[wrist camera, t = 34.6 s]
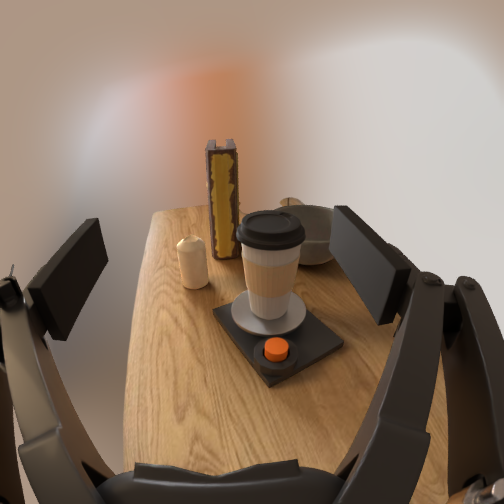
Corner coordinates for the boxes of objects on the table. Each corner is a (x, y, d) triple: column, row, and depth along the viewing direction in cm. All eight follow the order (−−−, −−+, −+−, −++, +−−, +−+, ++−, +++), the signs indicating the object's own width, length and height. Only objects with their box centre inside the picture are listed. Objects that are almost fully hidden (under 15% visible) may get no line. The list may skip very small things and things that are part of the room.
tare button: (260, 351, 38) (260, 342, 37) (279, 342, 39) (279, 334, 39) (272, 366, 36) (273, 357, 35) (292, 356, 37) (293, 348, 36)
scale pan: (219, 302, 47) (218, 299, 47) (278, 281, 52) (278, 278, 52) (256, 348, 38) (256, 345, 38) (320, 317, 43) (321, 315, 43)
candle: (187, 273, 60) (181, 231, 55) (211, 275, 60) (207, 232, 55) (178, 288, 55) (171, 244, 51) (204, 290, 55) (199, 245, 50)
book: (244, 258, 66) (242, 148, 54) (207, 260, 65) (199, 150, 53) (238, 221, 85) (236, 137, 73) (209, 222, 84) (205, 139, 72)
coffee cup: (303, 296, 47) (312, 213, 40) (289, 334, 40) (298, 241, 32) (251, 285, 50) (250, 205, 43) (229, 319, 42) (223, 229, 35)
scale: (212, 314, 49) (211, 301, 47) (278, 290, 55) (279, 277, 54) (268, 388, 35) (269, 376, 34) (342, 346, 41) (347, 333, 40)
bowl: (289, 231, 78) (291, 197, 73) (359, 252, 68) (365, 215, 63) (246, 262, 64) (245, 221, 59) (329, 293, 54) (337, 248, 49)
